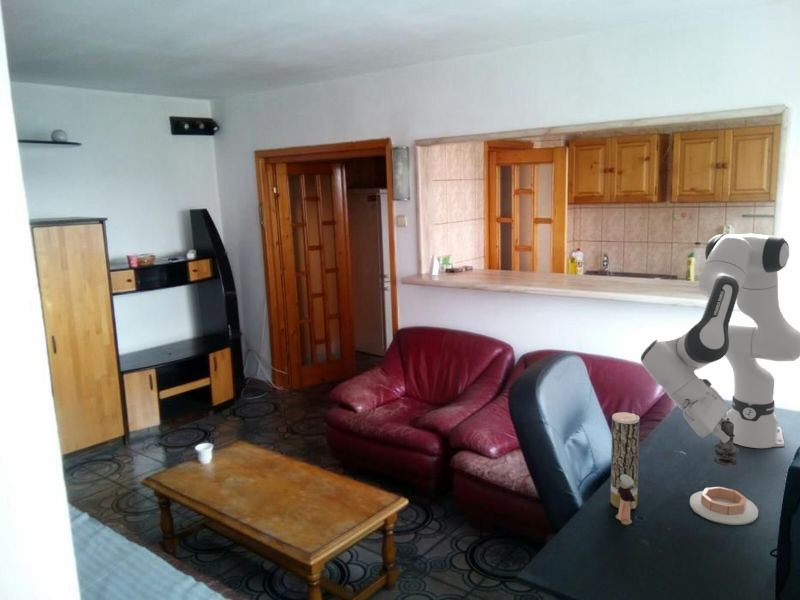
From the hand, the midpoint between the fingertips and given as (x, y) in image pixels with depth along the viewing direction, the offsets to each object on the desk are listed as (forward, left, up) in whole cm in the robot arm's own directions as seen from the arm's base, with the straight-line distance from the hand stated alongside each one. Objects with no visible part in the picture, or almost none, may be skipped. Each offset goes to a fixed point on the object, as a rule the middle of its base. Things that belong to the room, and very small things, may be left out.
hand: (729, 437), depth 161 cm
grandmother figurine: (+20, -20, -20) cm, 35 cm away
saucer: (0, -1, -20) cm, 20 cm away
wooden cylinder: (+12, -23, -20) cm, 33 cm away
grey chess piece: (0, -1, -7) cm, 7 cm away
